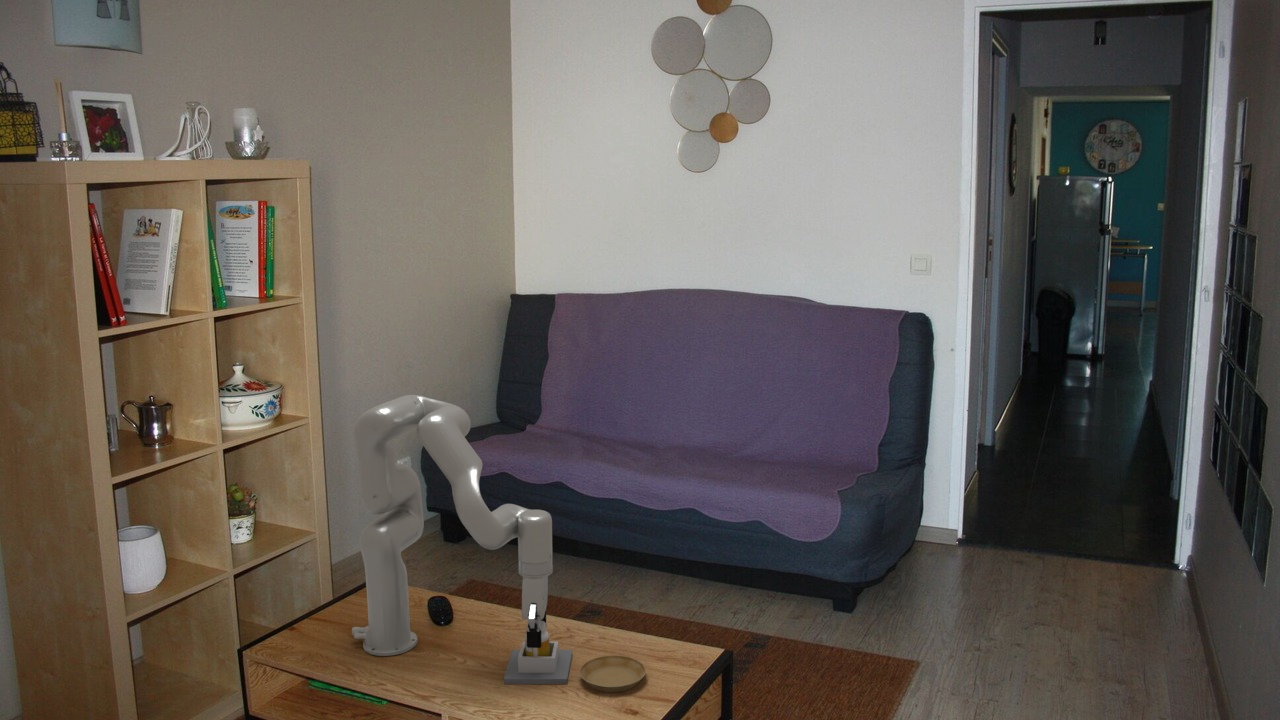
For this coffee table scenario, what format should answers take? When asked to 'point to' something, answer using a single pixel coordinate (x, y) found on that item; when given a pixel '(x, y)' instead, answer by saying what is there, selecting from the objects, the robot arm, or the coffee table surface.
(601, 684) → the plant saucer
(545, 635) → the supplement bottle
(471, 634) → the coffee table surface
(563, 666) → the bottle holder
